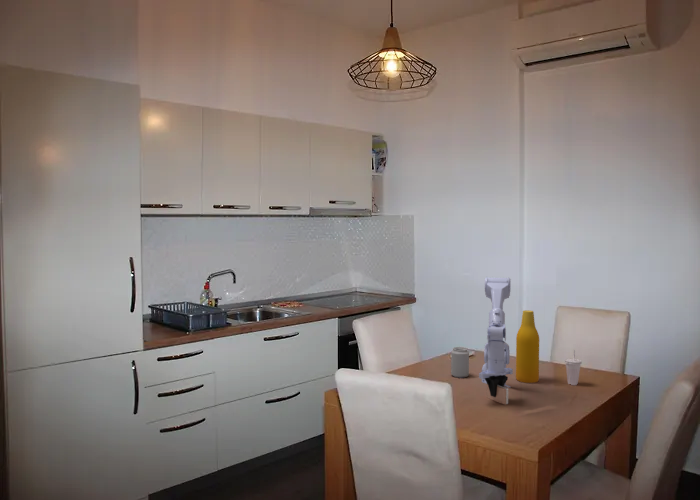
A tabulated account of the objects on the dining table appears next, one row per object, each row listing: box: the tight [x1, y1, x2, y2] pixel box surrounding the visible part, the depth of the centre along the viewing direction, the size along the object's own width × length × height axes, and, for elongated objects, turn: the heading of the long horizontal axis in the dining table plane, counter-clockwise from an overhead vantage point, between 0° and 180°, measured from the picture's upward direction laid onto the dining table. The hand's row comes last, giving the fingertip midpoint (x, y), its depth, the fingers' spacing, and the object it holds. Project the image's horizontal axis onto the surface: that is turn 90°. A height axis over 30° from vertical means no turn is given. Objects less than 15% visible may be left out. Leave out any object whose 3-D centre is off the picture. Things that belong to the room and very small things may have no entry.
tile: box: [486, 384, 509, 405], centre depth 209 cm, size 9×2×6 cm, turn 29°
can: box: [450, 346, 470, 379], centre depth 246 cm, size 8×8×12 cm
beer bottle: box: [515, 310, 540, 384], centre depth 239 cm, size 9×9×29 cm
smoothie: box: [564, 349, 582, 386], centre depth 234 cm, size 6×6×14 cm
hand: (495, 395), depth 210 cm, fingers closed on tile, 2 cm apart
